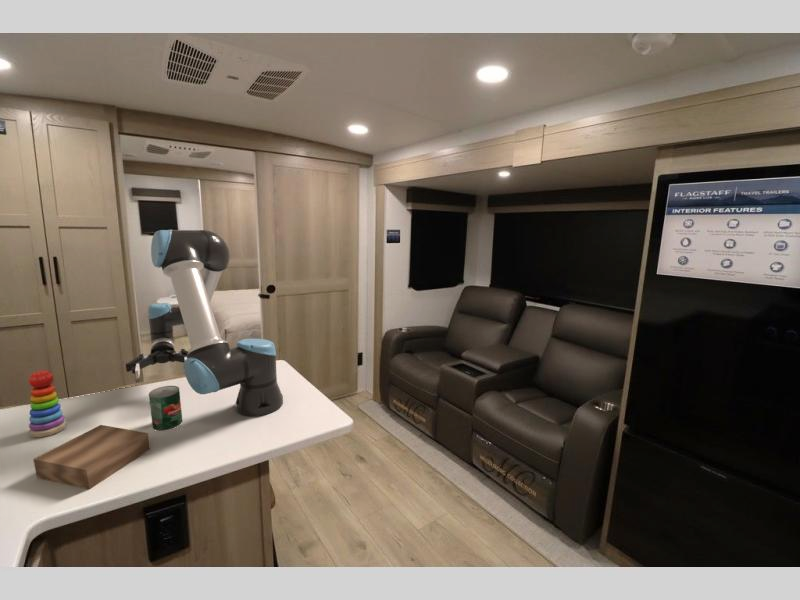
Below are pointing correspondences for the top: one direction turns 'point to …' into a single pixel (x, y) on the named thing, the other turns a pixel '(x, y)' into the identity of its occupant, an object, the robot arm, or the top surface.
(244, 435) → the top surface
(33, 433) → the stacking toy
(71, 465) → the block
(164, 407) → the canned tomato
